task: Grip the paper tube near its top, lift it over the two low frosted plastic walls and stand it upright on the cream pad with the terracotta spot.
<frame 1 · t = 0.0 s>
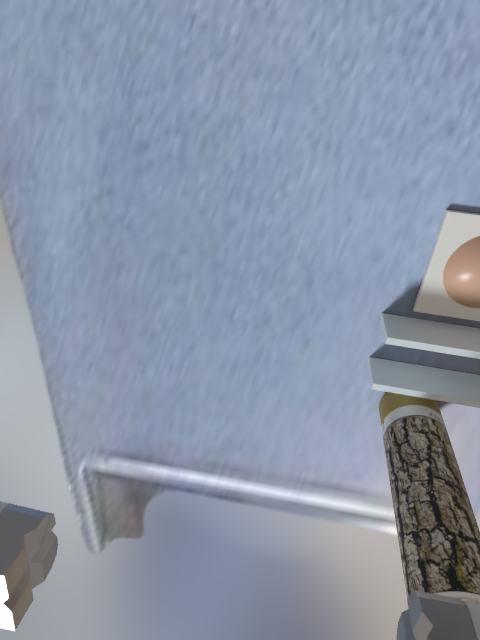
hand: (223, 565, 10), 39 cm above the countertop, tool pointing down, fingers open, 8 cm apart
low walls: (437, 348, 50), on the countertop
paper tube: (406, 402, 55), on the countertop
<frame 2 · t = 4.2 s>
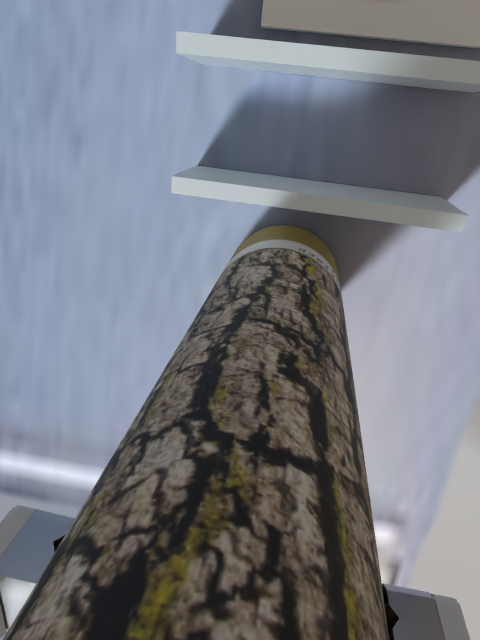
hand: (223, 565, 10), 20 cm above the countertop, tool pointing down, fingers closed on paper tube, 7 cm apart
low walls: (323, 131, 24), on the countertop
paper tube: (283, 274, 28), on the countertop, touching gripper
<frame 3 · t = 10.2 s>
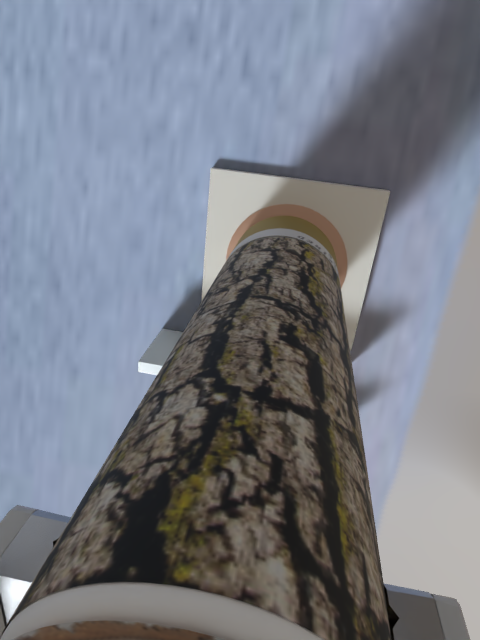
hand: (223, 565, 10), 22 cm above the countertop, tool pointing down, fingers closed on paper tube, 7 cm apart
low walls: (247, 381, 34), on the countertop
paper tube: (284, 263, 29), point 1 cm above the countertop, touching gripper, resting pad
resting pad: (286, 262, 30), on the countertop
when the fingers open (22 cm above the countertop, at t = 11.2 s): paper tube stays where it is, resting on resting pad.
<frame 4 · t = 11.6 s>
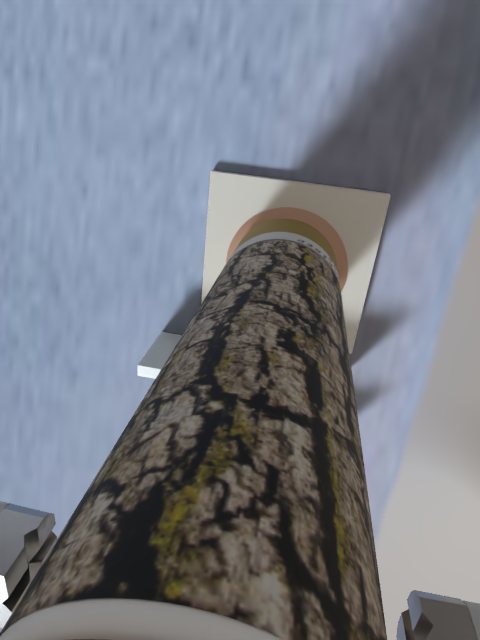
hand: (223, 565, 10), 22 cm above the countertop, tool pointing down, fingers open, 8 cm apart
low walls: (247, 385, 34), on the countertop
paper tube: (284, 266, 29), point 1 cm above the countertop, touching resting pad
resting pad: (286, 265, 30), on the countertop
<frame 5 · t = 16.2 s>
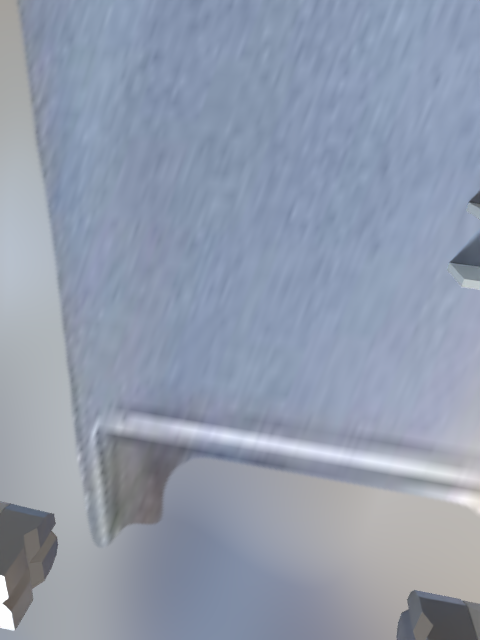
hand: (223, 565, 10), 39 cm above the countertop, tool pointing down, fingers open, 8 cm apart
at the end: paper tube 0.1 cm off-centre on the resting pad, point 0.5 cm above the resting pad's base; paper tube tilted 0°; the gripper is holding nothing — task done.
